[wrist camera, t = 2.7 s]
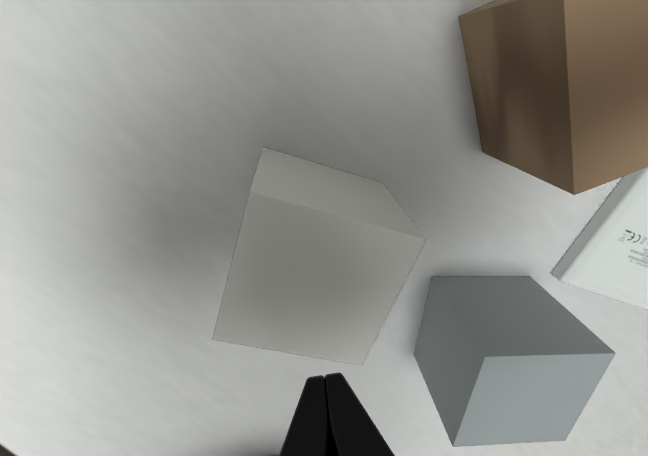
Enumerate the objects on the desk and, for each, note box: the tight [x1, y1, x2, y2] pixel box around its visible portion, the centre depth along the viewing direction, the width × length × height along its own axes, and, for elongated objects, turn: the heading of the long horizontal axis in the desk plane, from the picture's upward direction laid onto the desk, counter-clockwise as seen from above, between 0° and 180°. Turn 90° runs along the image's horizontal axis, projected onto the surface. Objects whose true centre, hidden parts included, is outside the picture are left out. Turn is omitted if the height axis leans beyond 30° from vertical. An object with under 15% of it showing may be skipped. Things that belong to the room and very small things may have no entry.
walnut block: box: [459, 0, 648, 195], centre depth 12 cm, size 6×6×6 cm
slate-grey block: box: [414, 276, 616, 447], centre depth 18 cm, size 6×6×6 cm
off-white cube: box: [212, 147, 426, 366], centre depth 15 cm, size 6×6×6 cm
